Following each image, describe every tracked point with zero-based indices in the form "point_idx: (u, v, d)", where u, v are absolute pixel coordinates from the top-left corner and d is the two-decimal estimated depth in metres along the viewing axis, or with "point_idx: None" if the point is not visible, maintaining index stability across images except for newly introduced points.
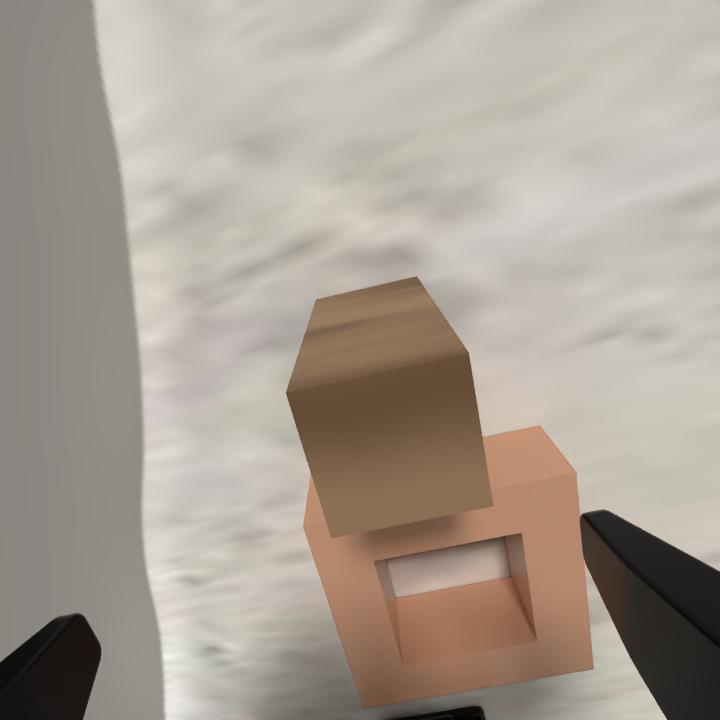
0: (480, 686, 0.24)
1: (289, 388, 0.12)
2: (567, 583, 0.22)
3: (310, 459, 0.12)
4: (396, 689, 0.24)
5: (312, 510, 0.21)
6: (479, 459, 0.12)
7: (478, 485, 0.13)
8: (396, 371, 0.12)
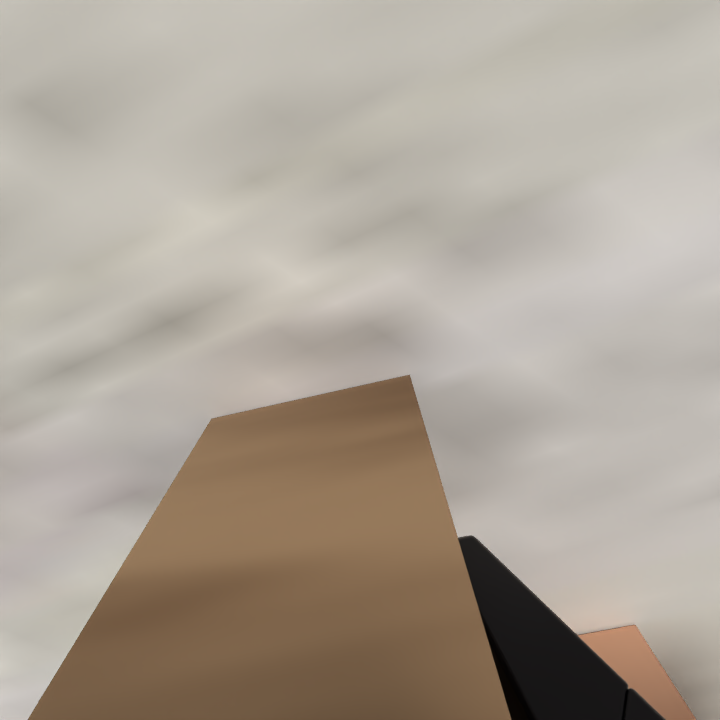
0: None
1: None
2: None
3: None
4: None
5: None
6: None
7: None
8: None
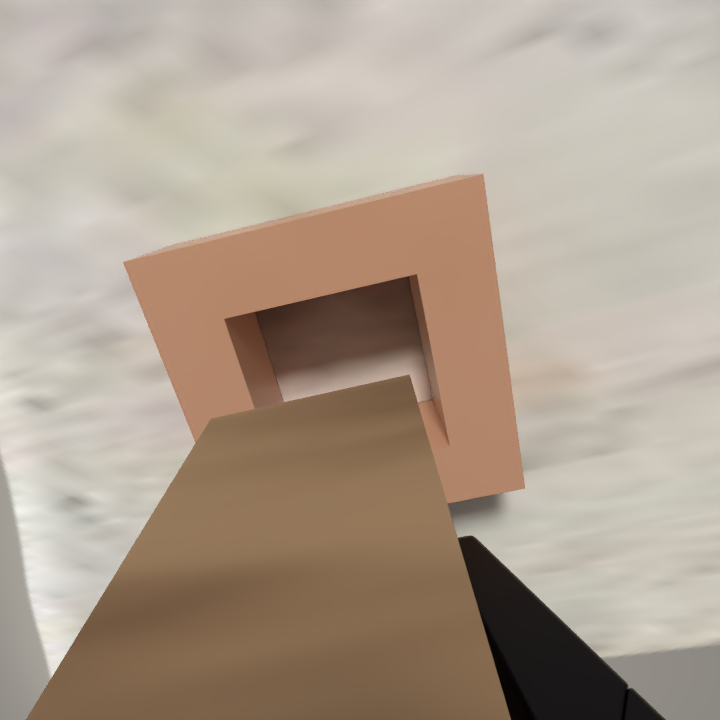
0: None
1: None
2: (482, 355, 0.16)
3: None
4: None
5: (145, 255, 0.16)
6: None
7: None
8: None
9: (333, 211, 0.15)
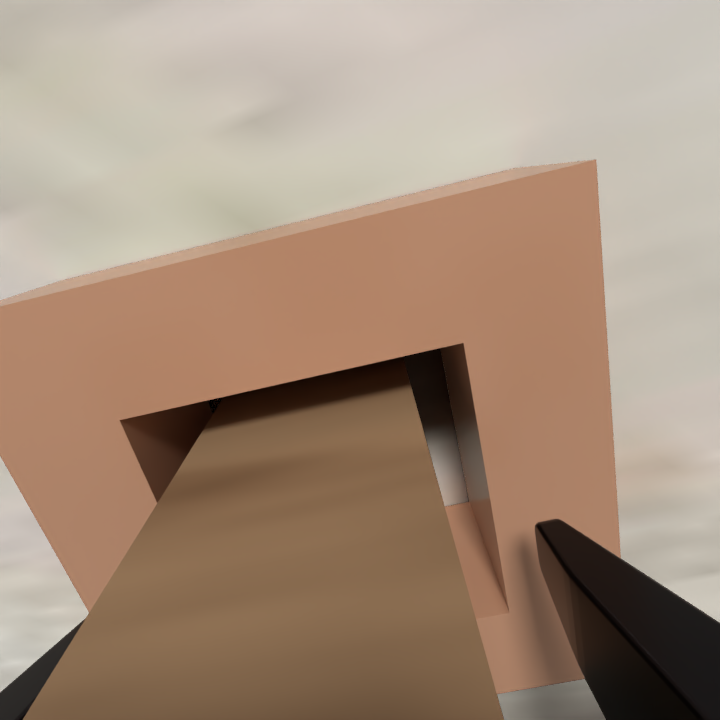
0: None
1: None
2: (573, 476, 0.10)
3: None
4: None
5: None
6: None
7: None
8: None
9: (310, 231, 0.08)
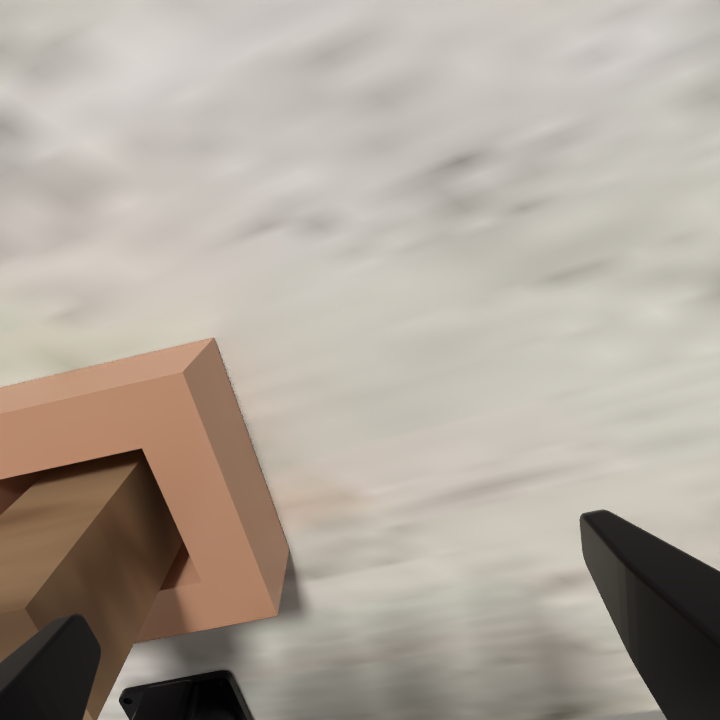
0: (153, 636, 0.21)
1: None
2: (214, 511, 0.19)
3: None
4: None
5: None
6: None
7: None
8: None
9: (59, 400, 0.17)
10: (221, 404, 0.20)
